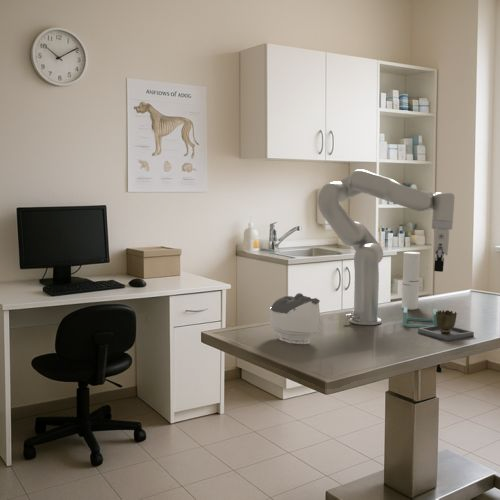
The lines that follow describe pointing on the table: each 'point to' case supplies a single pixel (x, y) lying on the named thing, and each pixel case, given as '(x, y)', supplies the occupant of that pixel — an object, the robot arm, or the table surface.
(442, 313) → the cup
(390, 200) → the robot arm
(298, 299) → the white bowl with contents
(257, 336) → the table surface
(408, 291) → the cylindrical container
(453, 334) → the tray
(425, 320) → the holder
